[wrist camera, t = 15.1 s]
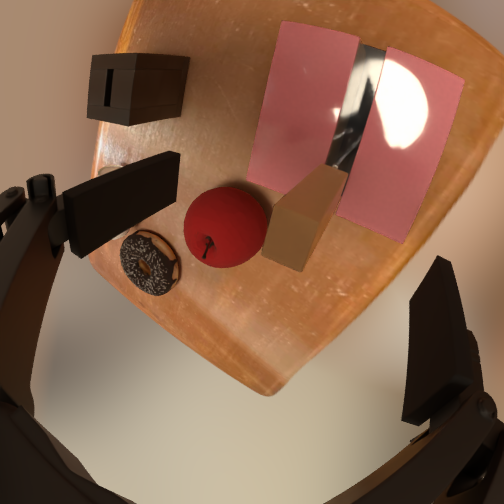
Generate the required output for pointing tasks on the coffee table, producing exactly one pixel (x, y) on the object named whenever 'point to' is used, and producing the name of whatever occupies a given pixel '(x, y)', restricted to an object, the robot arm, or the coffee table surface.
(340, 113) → the cake
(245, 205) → the apple
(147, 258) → the donut
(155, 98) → the knife block
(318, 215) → the knife
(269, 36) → the coffee table surface
